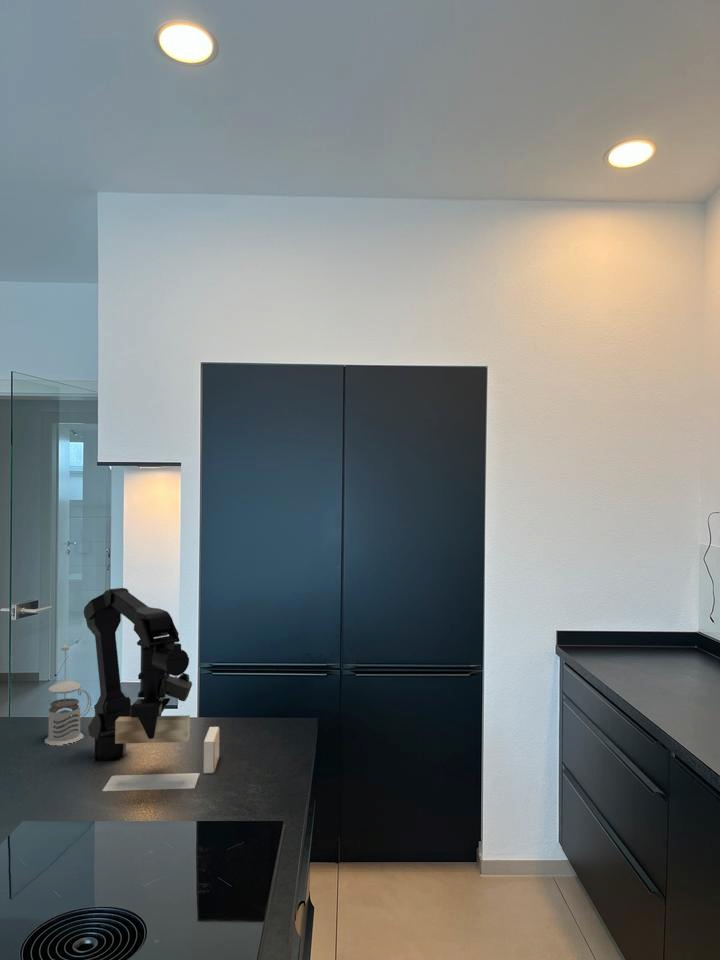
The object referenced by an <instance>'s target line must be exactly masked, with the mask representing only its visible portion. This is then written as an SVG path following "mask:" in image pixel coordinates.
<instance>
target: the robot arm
mask: <svg viewBox="0 0 720 960" xmlns="http://www.w3.org/2000/svg"><path fill="white" fill-rule="evenodd" d="M83 615H84V619H85V622H86V627H87V628H88V629H89V631H91V634H93V636H94V638H95V639H94V641H95V649H96V650H95V651H96V659H97V671H98V679H99V680H98V682H99V690H100V696H99V698H98V700H97V701H96V704H95V706H94V716H93V718H92V719H91V721H90V723H89V724H88V726H87V729H88V731H87V732H88V735H89V736H90V737H92V738H93V739H94V758H93V759H92V763H93V762H96V763H97V762H118V761H119V762H120V761H121V759H122V758H124V756H125V755H126V753H127V750H126V749H127V743H120V744H115V721H116V720H117V719H118V717H132V718H133V717H138V718H139V720H140V722H141V724H142V726H143V728H144V730H145V732H146V734H147V736H148V738H149V739H153V738H154V735H155V729H156V724H157V718H158V716H162V713H163V712H164V710H165V707H166V706H167V705H168V704H169V702H170V701H171V698H173V699H174V698H175V699H177V700H178V701H181V702H186V701H187V700H188V698H189V696H190V695H189V694H190V691H191V690H192V689H191V688H192V687H193V683H192V682H193V681H191V680H190V675H189V674H188V673H185V672H186V671H187V669H188V667H189V665H190V657H189V655H188V653H187V652H186V651H185V650H183V649H182V644H181V643H180V638H179V635H180V634H179V632H178V630H177V628H176V625H175V624H174V621H173V618H172V616H171V613H169V611H168V610H164V609H161V608H157V607H151V606H148V605H147V604H146V603H144V602H143V601H142V600H140V599H139V598H137V597H136V596H134V595H133V594H131V592H129V589H128V588H126V587H116V588H109V589H108V590H105V591H104V592H103V593H102V594H100V595H99V596H96V597H94V598H92V599H90V600H89V601H88V603H87V604H86V605H85V606H84V608H83ZM122 616H124V617H125V618H126V619H127V620H129V621H130V622H132V624H133V631H134V632H135V633H136V635H137V637H138V638H139V640H138V641H137V642H136V645H137V646H140V672H139V673H138V677H137V679H138V680H140V683H139V684H140V687H139V688H140V689H139V691H138V693H137V699H136V700H135V701H134V702H133V704H132V705H131V698H130V697H129V696H126V695H125V694H124V693H123V691H122V685H121V678H120V677H121V675H120V666H119V656H118V647H117V637H116V632H117V630H118V628H119V625H120V624H121V622H122V621H121V620H122ZM167 696H168V697H167ZM166 697H167V698H166ZM170 697H171V698H170Z"/></svg>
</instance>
